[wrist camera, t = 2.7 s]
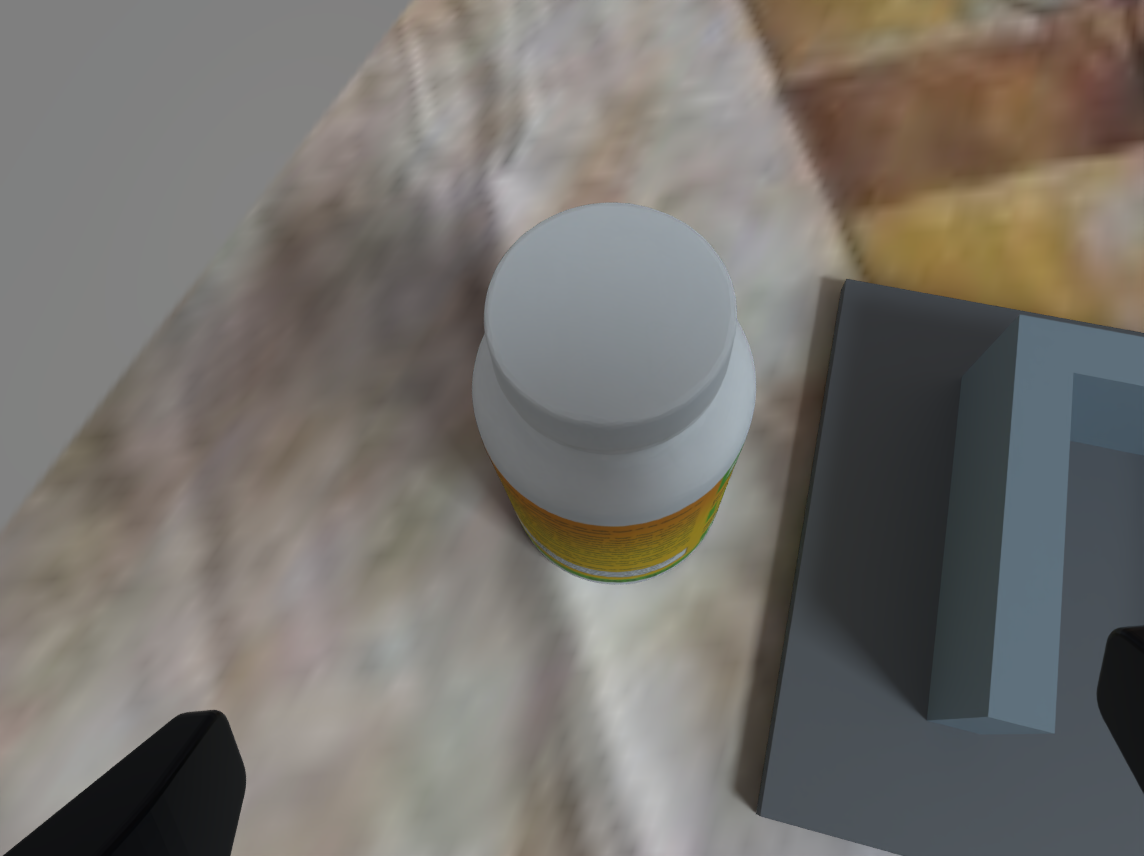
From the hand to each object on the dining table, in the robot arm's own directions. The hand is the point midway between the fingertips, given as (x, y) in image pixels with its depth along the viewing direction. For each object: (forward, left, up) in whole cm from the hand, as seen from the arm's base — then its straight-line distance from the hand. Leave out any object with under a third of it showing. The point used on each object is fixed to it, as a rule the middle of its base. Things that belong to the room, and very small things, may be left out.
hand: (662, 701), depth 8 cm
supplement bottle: (+3, +5, -12) cm, 14 cm away
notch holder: (+11, -6, -12) cm, 17 cm away
